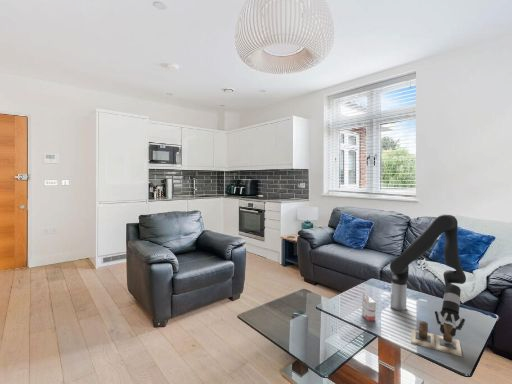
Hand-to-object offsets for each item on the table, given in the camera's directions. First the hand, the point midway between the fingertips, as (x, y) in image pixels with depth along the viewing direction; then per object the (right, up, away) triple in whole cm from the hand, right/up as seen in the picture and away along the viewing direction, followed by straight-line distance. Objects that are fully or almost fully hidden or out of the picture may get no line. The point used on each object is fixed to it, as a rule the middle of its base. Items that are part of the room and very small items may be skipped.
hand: (447, 334), depth 144 cm
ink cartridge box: (-28, -6, +31) cm, 43 cm away
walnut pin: (+1, -4, +2) cm, 4 cm away
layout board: (-3, -7, +5) cm, 9 cm away
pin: (-8, -5, +8) cm, 12 cm away
